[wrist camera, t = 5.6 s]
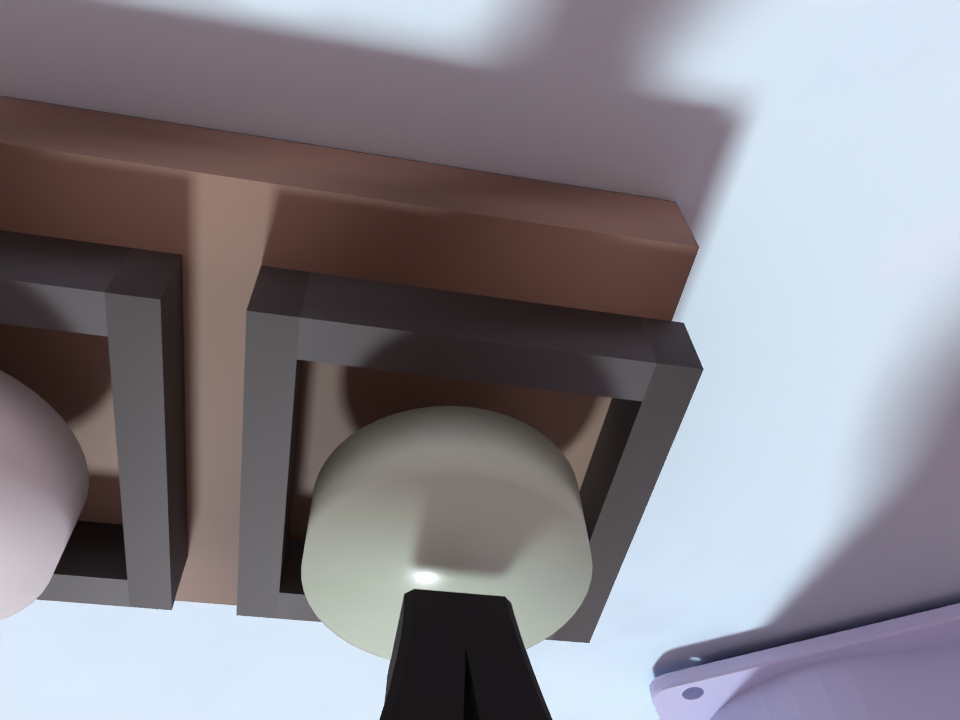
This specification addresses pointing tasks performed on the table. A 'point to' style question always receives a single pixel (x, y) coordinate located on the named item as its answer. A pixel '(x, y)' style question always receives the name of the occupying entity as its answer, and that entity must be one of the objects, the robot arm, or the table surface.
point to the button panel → (315, 337)
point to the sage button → (444, 523)
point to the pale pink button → (35, 493)
